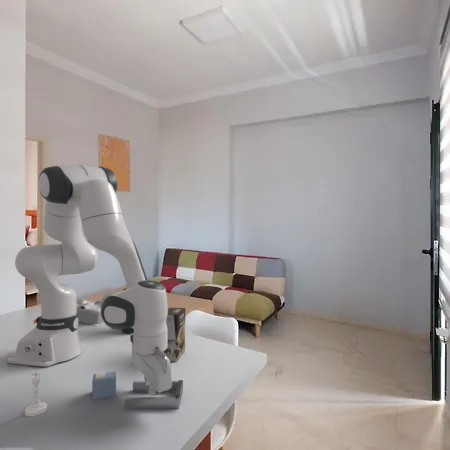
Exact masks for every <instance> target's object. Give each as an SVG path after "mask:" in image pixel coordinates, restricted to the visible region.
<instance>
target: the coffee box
mask: <svg viewBox="0 0 450 450" xmlns="http://www.w3.org/2000/svg"><path fill="white" fill-rule="evenodd" d="M166 325H167V329H168V346H167V349H166V350H164V351H163V352H164V353H165V355H166V356H167V357H168V358H169V360H170V362H175V363H176V362H178V361H179V359H180V358H181V357H182V356H183V354H185V352H186V308H185V307H168V315H167V318H166Z"/></svg>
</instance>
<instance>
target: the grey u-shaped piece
mask: <svg viewBox="0 0 450 450" xmlns="http://www.w3.org/2000/svg"><path fill="white" fill-rule="evenodd" d="M132 392H133V393H135V392H141V393H143V392H144V393H145V392H146V393H148V392H147V391H146V384H145V380H143V381H140V380H139V381H135V380H134V381H133V382H132ZM166 392H174V396H125V397H124V400H123V403H124V405H123V406H124V407H123V408H124V409H125V410H127V409H134V410H135V409H138V410H139V409H180V405H181V401H182V396H183V392H184V381H183V379H178V380H172V386H171V388H170V389H169V390H167V391H166ZM156 393H158V392H157V391H156Z"/></svg>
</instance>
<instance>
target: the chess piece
mask: <svg viewBox="0 0 450 450" xmlns="http://www.w3.org/2000/svg"><path fill="white" fill-rule="evenodd" d="M31 376H32V377H33V378H31V380H30V381H31V383H32V387H31V389H30V391H31V392H33V394H32V395H33V396H32V403H31V404H29V405H28V406H27V407H26V408H25V409H24V415H25V416H27V417H35V416H39V415H42V414H43V413H45V411H47V409H48V404H47V403H46V402H43V401H40V393H39V391H40V389H41V388H42V387H41V385H40V382H41V373H40V372H38V370H35V371H34V372H33V373H32V374H31Z"/></svg>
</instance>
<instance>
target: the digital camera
mask: <svg viewBox="0 0 450 450" xmlns="http://www.w3.org/2000/svg"><path fill="white" fill-rule="evenodd" d="M103 301H104V299H100V300H97V301H96V302H95V303H94V302H88V301H87V302H84V303H82V304H78V303H77V312H78V323H82V322H83V323H82V324H86V323H88V325H91V324H99V325H101V324H103V323H104V321H103V319H102V316H101V306H102V303H103ZM102 322H103V323H102ZM100 323H101V324H100Z"/></svg>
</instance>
